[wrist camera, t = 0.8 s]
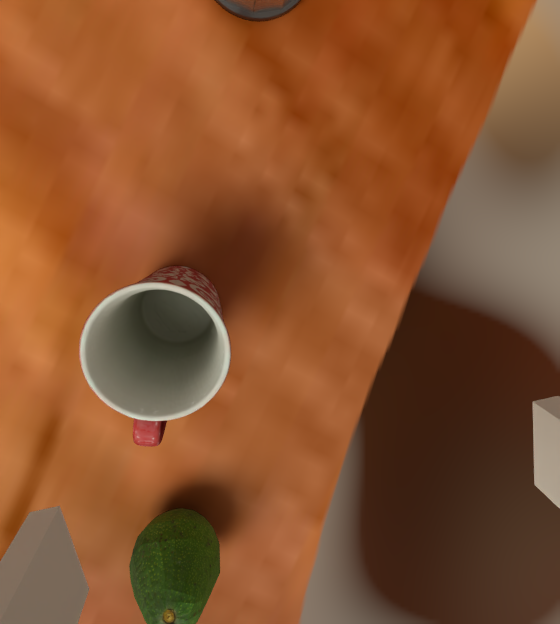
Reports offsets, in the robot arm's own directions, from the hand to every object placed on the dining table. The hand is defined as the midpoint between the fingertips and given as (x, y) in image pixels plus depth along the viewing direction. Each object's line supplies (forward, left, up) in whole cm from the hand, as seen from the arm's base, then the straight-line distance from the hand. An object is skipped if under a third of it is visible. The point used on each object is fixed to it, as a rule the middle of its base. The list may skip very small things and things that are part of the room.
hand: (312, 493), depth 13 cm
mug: (-2, -7, -30) cm, 31 cm away
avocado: (+13, -21, -30) cm, 39 cm away
